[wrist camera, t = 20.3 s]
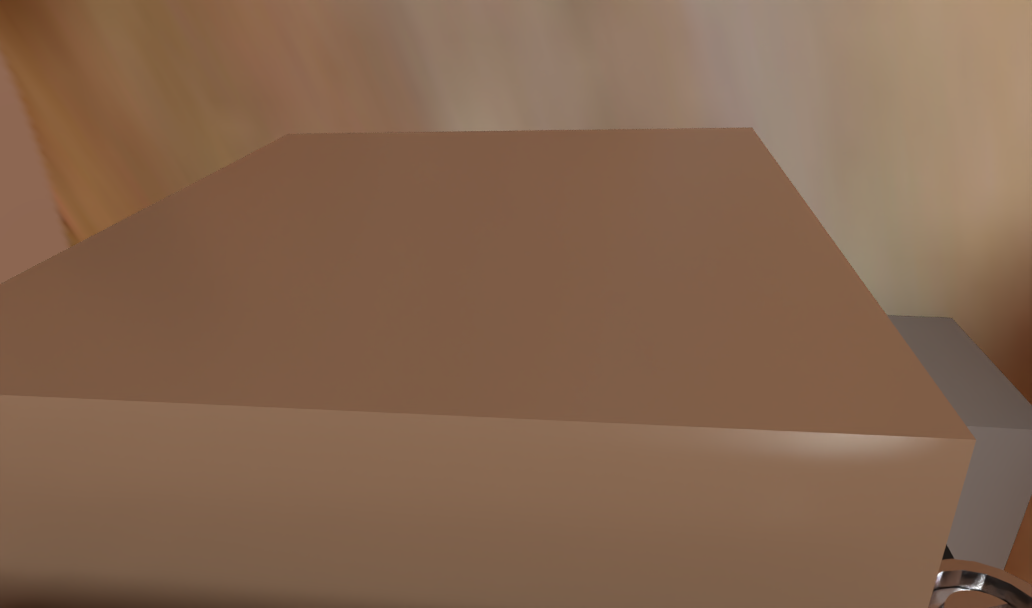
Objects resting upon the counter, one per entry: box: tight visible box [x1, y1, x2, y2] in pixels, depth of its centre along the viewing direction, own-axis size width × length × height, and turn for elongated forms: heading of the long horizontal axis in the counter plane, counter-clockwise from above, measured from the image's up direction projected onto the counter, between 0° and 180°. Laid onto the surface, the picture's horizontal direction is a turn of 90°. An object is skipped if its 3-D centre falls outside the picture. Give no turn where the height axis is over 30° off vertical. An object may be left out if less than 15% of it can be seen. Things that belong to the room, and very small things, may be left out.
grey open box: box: [887, 315, 1032, 571], centre depth 28 cm, size 8×8×8 cm
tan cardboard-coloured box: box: [0, 128, 976, 608], centre depth 10 cm, size 8×8×8 cm
